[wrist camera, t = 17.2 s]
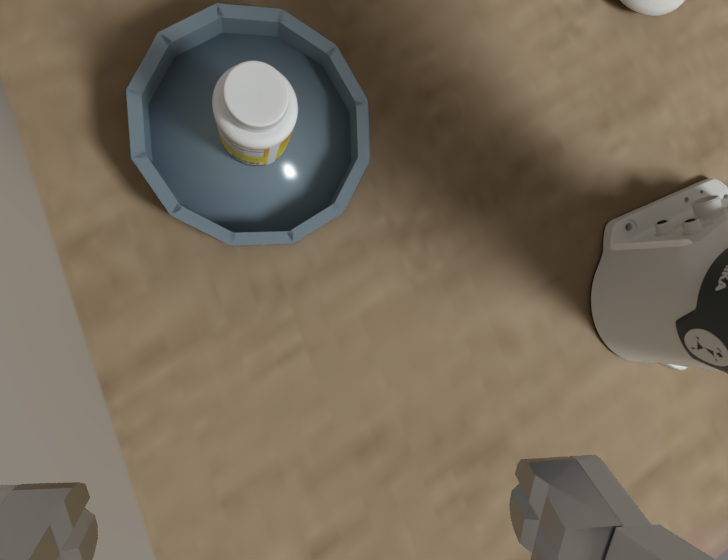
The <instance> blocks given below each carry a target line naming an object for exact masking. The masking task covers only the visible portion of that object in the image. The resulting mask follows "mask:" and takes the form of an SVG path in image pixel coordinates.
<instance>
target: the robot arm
mask: <svg viewBox="0 0 728 560" xmlns="http://www.w3.org/2000/svg"><path fill="white" fill-rule="evenodd" d="M626 226H627V229H626V228H625V227H626ZM591 308H592V315H593V320H594V323H595V326H596V329H597V331H598V333H599V335H600V337H601V339H602V340H603V342H604V343H605V344H606V345H607V346H608V348H609V349H610V350H612V351H613V352H614V353H615V354H617V355H618V356H620V357H622V358H624V359H626V360H630V361H634V362H654V363H660V364H662V365H664V366H666V367H669V368H672V369H678V370H684V369H686V368H687V367H690V368H697V369H703V370H710V371H717V372H723V373H728V187H727V186H726V185H725V184H723V183H722V182H721V181H719V180H718V179H705V180H702V181H700V182H697V183H695V184H693V185H690V186H688V187H686V188H684V189H681V190H679V191H677V192H674V193H672V194H670V195H668V196H665V197H663V198H661V199H659V200H656V201H654V202H652V203H649V204H647V205H645V206H643V207H640V208H638V209H636V210H633V211H631V212H629V213H627V214H624V215H622V216H620V217H617V218H615V219H613V220H611V221H610V222H608V224H607V225H606V227H605V231H604V241H603V254H602V257H601V260H600V263H599V265H598V268H597V270H596V273H595V276H594V280H593V285H592V291H591ZM515 475H516V477H517V479H518V481H519V484H518V485H517V486H516V487H515V488H514V489H513V490H512V492H511V498H510V515H511V521H512V525H513V528H514V531H515V534H516V536H517V538H518V541H519V543H520V544H522V545H523V546H524V547H525V548H526V549H528V550H529V551H530V552H531V553H532V556H531V560H715V559H714V558H712V557H710V556H709V555H707V554H706V553H704V552H702V551H701V550H699V549H698V548H696V547H694V546H693V545H691V544H690V543H688V542H686V541H685V540H683V539H682V538H680V537H678V536H677V535H675V534H674V533H672V532H670V531H669V530H667V529H666V528H664V527H662V526H661V525H651V523H650V522H649V521H648V519H647V518H646V517H645V515H644V514H643V513H642V512H641V510H640V509H639V508H638V506H637V505H636V504H635V502H634V501H633V500H632V499H631V497H630V496H629V495H628V493H627V492H626V491H625V489H624V488H623V487H622V486H621V484H620V483H619V482H618V480H617V479H616V478H615V476H614V475H613V474H612V473H611V471H610V470H609V469H608V467H607V466H606V465H605V463H604V462H603V461H602V460H601V459H600V458H599V457H597V456H596V455H583V456H570V457H567V456H566V457H550V458H534V459H521V460H520V462H519V463H518V464H517V468H516V473H515ZM89 498H90V496H89V493H88V490H87V487H86V484H84V483H40V484H21V485H0V560H92V559H93V556H94V552H95V548H96V543H97V539H98V531H97V528H98V527H97V522H96V518H95V515H94V514H92V513H91V512H90V511H88V510H87V509H86V508H85V506H86V504H87V502H88V500H89Z"/></svg>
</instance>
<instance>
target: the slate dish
mask: <svg viewBox="0 0 728 560" xmlns="http://www.w3.org/2000/svg"><path fill="white" fill-rule="evenodd" d="M246 61H260V62H264V63H267V64H269V65H271V66H272V67H274V68H275V69H276V70H277V71H279V72H280V73H281V74H282V75H283V76H284V77H285V78H286V79H287V80H288V81H289V83H290V84H291V86H292V88H293V90H294V92H295V94H296V98H297V103H298V115H297V120H296V124H295V126H294V129H293V132H292V134H291V137H290V140H289V143H288V145H287V147H286V149H285V151H284V153H283V154H282V155H281V156H280V158H278V159H277V160H276V161H274V162H273V163H271V164H268V165H265V166H258V167H255V166H248V165H245V164H242V163H240V162H238V161H237V160H235V159H234V158H233V157H232V156H231V155H230V154H229V153H228V152H227V151H226V149H225V148H224V146H223V144H222V142H221V139H220V135H219V131H218V128H217V124H216V121H215V117H214V113H213V107H212V97H213V92H214V88H215V86H216V83H217V81H218V80H219V78H220V77H221V76H222V75H223V74H224V73H225V72H226V71H227V70H228V69H230V68H231V67H233V66H235V65H238V64H240V63H242V62H246ZM126 96H127V110H128V124H129V138H130V151H131V159H132V160H133V162H134V163H135V165H136V166H137V168H138V169H139V170H140V172H141V173H142V175H143V176H144V178H145V179H146V181H147V182H148V183H149V185H150V186H151V188H152V189H153V191H154V192H155V194H156V195H157V197H158V198H159V199H160V201H161V202H162V204H163V205H164V207H165V208H166V210H167V211H168V213H169V214H170V215H171V216H173V217H175V218H177V219H179V220H181V221H183V222H185V223H186V224H188V225H190V226H192V227H194V228H196V229H198V230H200V231H202V232H204V233H206V234H208V235H210V236H212V237H214V238H216V239H218V240H220V241H222V242H224V243H226V244H228V245H230V246H250V245H279V244H294V243H295V242H297V241H298V240H300V239H302V238H303V237H305V236H306V235H308V234H310V233H311V232H313V231H314V230H316V229H318V228H319V227H321V226H322V225H324V224H326V223H327V222H329V221H330V220H332V219H334V218H335V217H337V216H338V215H340V214H342V213H343V212H344V210H345V208H346V206H347V204H348V203H349V201H350V199H351V197H352V195H353V193H354V191H355V189H356V187H357V185H358V183H359V181H360V179H361V177H362V175H363V173H364V172H365V170H366V168H367V166H368V164H369V162H370V143H369V115H368V100H367V98H366V96H365V94H364V93H363V91H362V89H361V87H360V85H359V84H358V82H357V80H356V78H355V77H354V75H353V73H352V71H351V70H350V68H349V66H348V64H347V62H346V61H345V59H344V57H343V55H342V54H341V52H340V50H339V48H338V47H337V45H336V44H334V43H333V42H331V41H330V40H328V39H327V38H325V37H324V36H322V35H321V34H319V33H318V32H316V31H315V30H313V29H311V28H310V27H308V26H307V25H305V24H304V23H302V22H301V21H299V20H298V19H296V18H295V17H293V16H292V15H290V14H289V13H287V12H286V11H284V10H283V9H277V8H266V7H255V6H244V5H233V4H222V3H216V4H214V5H212V6H210V7H208V8H206V9H204V10H202V11H200V12H198V13H196V14H194V15H192V16H190V17H188V18H186V19H184V20H182V21H180V22H178V23H176V24H174V25H172V26H170V27H168V28H166V29H164V30H162V31H160V32H158V33H157V35H156V37H155V39H154V41H153V42H152V44H151V46H150V48H149V50H148V51H147V53H146V55H145V57H144V59H143V60H142V62H141V64H140V66H139V67H138V69H137V71H136V73H135V75H134V76H133V78H132V80H131V82H130V84H129V85H128V87H127V89H126Z"/></svg>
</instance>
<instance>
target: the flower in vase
mask: <svg viewBox="0 0 728 560" xmlns="http://www.w3.org/2000/svg"><path fill="white" fill-rule="evenodd" d="M620 1H621V2H622V3H623V4H624V5H625V6H627V7H628V8H630V9H631V10H633V11H635V12H638V13H641V14H645V15H653V16H657V15H664V14H667V13H669V12H672V11H673V10H675V9H676V8H678V7H679V6H680V5H681V4H682V3H683V2H684V1H685V0H620Z"/></svg>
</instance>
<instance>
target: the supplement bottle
mask: <svg viewBox="0 0 728 560" xmlns="http://www.w3.org/2000/svg"><path fill="white" fill-rule="evenodd" d="M212 107H213V113H214V117H215V121H216V124H217V128H218V131H219V135H220V139H221V142H222V144H223V146H224V148H225V149H226V151H227V152H228V153H229V154H230V155H231V156H232V157H233V158H234V159H235V160H237V161H238V162H240V163H242V164H245V165H248V166H255V167H258V166H265V165H268V164H271V163H273V162H274V161H276V160H277V159H278V158H280V156H281V155H282V154H283V153H284V151H285V149H286V147H287V145H288V143H289V140H290V137H291V134H292V132H293V129H294V126H295V124H296V120H297V115H298V103H297V98H296V94H295V92H294V90H293V88H292V86H291V84H290V83H289V81H288V80H287V79H286V78H285V77H284V76H283V75H282V74H281V73H280V72H279V71H277V70H276V69H275V68H274V67H272V66H271V65H269V64H267V63H264V62H260V61H246V62H242V63H240V64H238V65H235V66H233V67H231V68H230V69H228V70H227V71H226V72H225V73H224V74H223V75H222V76H221V77H220V78H219V80H218V81H217V83H216V86H215V88H214V92H213V97H212Z"/></svg>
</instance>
